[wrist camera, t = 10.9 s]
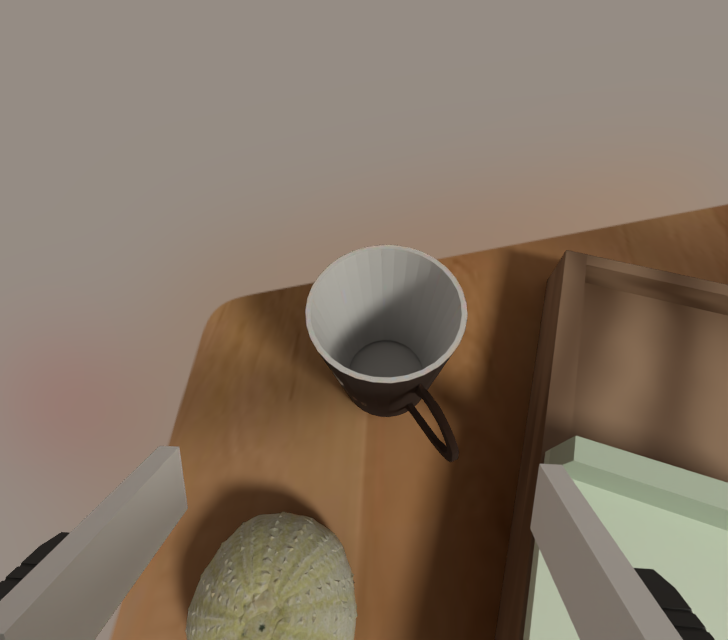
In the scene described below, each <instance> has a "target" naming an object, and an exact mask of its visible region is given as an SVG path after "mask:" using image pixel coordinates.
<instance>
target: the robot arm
mask: <svg viewBox="0 0 728 640" xmlns="http://www.w3.org/2000/svg"><path fill="white" fill-rule="evenodd" d="M187 509H188V507H187V499H186V492H185V485H184V478H183V471H182V464H181V456H180V449H179V447H175V446H159V447H158V448H157V449H156V450H155V451H154V452H153V453H152V454H151V455H150V456H149V457H148V458H147V459H145V460H144V462H142V463H141V464H140V465H139V466H138V467H137V468H136V469H135V470H134V471H133V472H132V473H131V474H130V475H129V476H128V477H127V478H126V479H125V480H124V481H123V482H122V483H121V484H120V485H119V486H118V487H117V488H116V489H115V490H114V491H113V492H112V493H111V494H110V495H109V496H107V497H106V498H105V499H104V500H103V501H102V502H101V503H100V504H99V505H98V506H97V507H96V508H95V509H94V510H93V511H92V512H91V513H90V514H89V515H88V516H87V517H86V518H85V519H84V520H83V521H82V522H81V523H80V524H79V525H78V526H77V527H76V528H75V529H74V530H73V531H72V532H71V533H65V532H61V533H60V534H58V535H56V536H55V537H53V538H52V539H50V540H49V541H47V542H46V543H44V544H42V545H41V546H39V547H38V548H37V549H36V550H35V551H34V552H33V553H32V554H31V555H30V556H29V557H27V558H26V559H25V560H24V561H23V562H22V563H21V566H20V567H17V568H15V570H13V571H12V572H11V573H10V574H9V575H8V576H7V577H6V579H5V581H1V582H0V640H95V639H96V637H97V636H98V634H99V633H100V632H101V630H102V629H103V627H104V626H105V624H106V623H107V622H108V620H109V619H110V617H111V616H112V614H113V613H114V612H115V610H116V609H117V608H118V606H119V605H120V603H121V602H122V600H123V599H124V598H125V596H126V595H127V593H128V592H129V591H130V589H131V588H132V586H133V585H134V584H135V582H136V581H137V579H138V578H139V576H140V575H141V574H142V572H143V571H144V569H145V568H146V567H147V565H148V564H149V562H150V561H151V559H152V558H153V557H154V555H155V554H156V552H157V551H158V550H159V548H160V547H161V545H162V544H163V543H164V541H165V540H166V538H167V537H168V535H169V534H170V533H171V531H172V530H173V528H174V527H175V526H176V524H177V523H178V521H179V520H180V519H181V517H182V516H183V514H184V513H185V511H186V510H187ZM530 529H531V531H532V533H533V536H534V538H535V540H536V542H537V545H538V547H539V549H540V551H541V554H542V556H543V558H544V560H545V563H546V565H547V567H548V569H549V572H550V574H551V576H552V578H553V581H554V583H555V585H556V587H557V589H558V592H559V594H560V596H561V598H562V601H563V603H564V605H565V607H566V610H567V612H568V614H569V616H570V619H571V621H572V623H573V625H574V628H575V630H576V632H577V634H578V637H579V639H580V640H715V639H714V638H713V636H712V635H711V634H710V632H707V631H706V627H705V626H704V625H703V623H702V622H701V621H700V619H699V618H698V617H697V616H696V614H693V612H692V609H691V608H690V606H689V605H688V604H687V603H686V601H685V600H684V599H683V597H682V596H681V595H680V593H679V592H678V591H677V590H676V588H675V587H674V586H672V585H671V584H670V583H669V582H668V581H667V580H665V579H664V578H663V577H662V576H661V575H659V574H658V573H657V572H656V571H655V570H654V569H644V568H633V567H632V565H631V564H630V562H629V561H628V559H627V558H626V557H625V555H624V554H623V552H622V551H621V549H620V548H619V546H618V545H617V544H616V542H615V541H614V539H613V538H612V536H611V535H610V533H609V532H608V531H607V529H606V528H605V526H604V525H603V523H602V522H601V520H600V519H599V518H598V516H597V515H596V513H595V512H594V510H593V509H592V507H591V506H590V505H589V503H588V502H587V500H586V499H585V497H584V496H583V494H582V493H581V492H580V490H579V489H578V487H577V486H576V484H575V483H574V481H573V480H572V479H571V477H570V476H569V474H568V473H567V471H566V470H565V468H564V467H563V465H558V464H539V470H538V477H537V484H536V491H535V498H534V505H533V512H532V519H531V526H530Z"/></svg>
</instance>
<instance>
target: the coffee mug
mask: <svg viewBox="0 0 728 640" xmlns="http://www.w3.org/2000/svg"><path fill="white" fill-rule="evenodd" d="M305 314H306V326H307V329H308V332H309V336H310V339H311V340H312V342H313V344H314V346H315V347H316V349H317V351H318V352H319V354H320V355H321V357H322V358H323V359H324V361H325V362H326V364H327V365H328V367H329V368H330V369H331V371H332V372H333V374H334V375H335V377H336V378H337V379H338V381H339V382H340V384H341V385H342V387H343V388H344V389H345V391H346V392H347V394H348V395H349V397H350V398H351V399H352V401H353V402H354V403H355V404H356V405H357V406H358V407H359V408H361V409H362V410H363V411H365V412H368V413H370V414H372V415H376V416H381V417H391V416H397V415H400V414H403V413H405V412H407V411H409V412H410V413H411V414H412V416H413V417H414V419H415V420H416V422H417V423H418V424H419V426H420V427H421V429H422V430H423V431H424V433H425V434H426V436H427V437H428V438H429V440H430V441H431V443H432V444H433V445H434V446H435V448H436V449H437V450H438V451H439V453H440V454H441V455H442V456H443V457H444V458H445V459H446V460H447V461H449V462H452V461H454V460H456V459H458V455H459V450H458V446H457V443H456V440H455V437H454V435H453V433H452V430H451V428H450V426H449V424H448V422H447V420H446V418H445V416H444V414H443V412H442V410H441V408H440V406H439V405H438V404H437V402H436V401H435V400H434V399H433V397H432V396H431V395H430V394H429V392H428V391H427V390H428V388H429V387H430V385H431V384H432V383H433V381H434V380H435V378H436V377H437V375H438V374H439V372H440V371H441V370H442V368H443V367H444V365H445V364H446V362H447V361H448V360H449V358H450V357H451V355H452V354H453V352H454V351H455V349H456V348H457V347H458V345H459V344H460V342H461V339H462V337H463V334H464V332H465V328H466V322H467V304H466V300H465V296H464V293H463V290H462V288H461V286H460V285H459V283H458V281H457V279H456V278H455V276H454V275H453V274H452V273H451V272H450V271H449V270H448V268H447V267H445V266H444V265H443V264H442V263H440V262H439V261H438V260H436V259H435V258H433V257H431V256H429V255H428V254H426V253H424V252H421V251H418V250H415V249H412V248H409V247H403V246H398V245H376V246H369V247H364V248H361V249H358V250H354V251H352V252H350V253H348V254H346V255H344V256H342V257H340V258H338V259H337V260H335V261H334V262H333V263H331V264H330V265H329V266H328V267H327V268H326V269H325V270H324V271H323V272H322V273H321V274H320V275H319V277H318V278H317V279H316V281H315V282H314V284H313V285H312V288H311V290H310V293H309V295H308V298H307V304H306V310H305ZM421 398H422V399H423V400H424V402H425V403H426V404H427V406H428V408H429V410H430V411H431V413H432V414H433V416H434V418H435V419H436V421H437V423H438V425H439V427H440V430H441V432H442V434H443V437H444V440H445V443H446V445H445V444H443V443H442V442H441V441H440V440H439V439H438V438H437V436H436V435H435V434H434V432H433V431H432V430H431V428H430V427H429V426H428V424H427V423H426V422H425V420H424V419H423V417H422V416H421V415H420V413H419V412H418V411H417V409H416V408H415V405H416V404H418V403H419V401H420V400H421ZM446 446H447V447H446Z"/></svg>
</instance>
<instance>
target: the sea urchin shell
mask: <svg viewBox="0 0 728 640" xmlns="http://www.w3.org/2000/svg"><path fill="white" fill-rule="evenodd" d="M353 575H354V574H353V573H352V572H351V568H350V566H349V563H348V561H347V558H346V554H345V551H344V548H343V546H342V544H341V542H340V541H339V539H338V538H337V537H336V535H335V534H334V533H333V532H331V531H330V529H328V528H326V527H324V525H323V524H322V525H321V524H320V523H318V522H317V521H315V520H314V519H313V518H310V517H307V516H300V515H295V514H292V513H286V512H284V511H283V512H281V513H277V514H264V515H258V516H256V517H254V518H252V519H250V520H248V521H247V522H243V523H242V525H241V526H240V527H239V528H237V530H236V531H235V532H234V533H233V534H232V535H231V536H230V537H229V538H228V539H227V540H226V541H225V542H223V543H222V544H221V546H220V548H219V549H218V551H217V553H216V554H215V556H214V558H213V559H212V561H211V562H210V563H209V565H208V566H207V567H206V568H205V569H204V572H203V573H202V574H201V576H200V578H201V579H200V581H199V583H198V586H197V588H196V591H195V594H194V597H193V599H192V601H191V604H190V606H189V608H188V617H187V627H186V630H185V631H186V634H187V640H354V633H355V625H356V617H357V612H356V608H357V605H356V603H355V595H354V585H353V583H354V581H353Z"/></svg>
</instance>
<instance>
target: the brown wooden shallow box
mask: <svg viewBox="0 0 728 640" xmlns="http://www.w3.org/2000/svg"><path fill="white" fill-rule="evenodd" d="M574 436H579V437H582V438H585V439H589V440H592V441H595V442H598V443H602V444H605V445H608V446H611V447H614V448H618V449H621V450H624V451H627V452H630V453H634V454H637V455H640V456H643V457H646V458H650V459H653V460H656V461H659V462H663V463H666V464H669V465H672V466H675V467H679V468H682V469H685V470H688V471H691V472H695V473H698V474H701V475H704V476H707V477H711V478H714V479H717V480H720V481H724V482H727V483H728V285H727V284H722V283H717V282H713V281H708V280H703V279H699V278H694V277H689V276H685V275H680V274H675V273H671V272H666V271H662V270H657V269H652V268H648V267H643V266H638V265H634V264H629V263H624V262H620V261H615V260H610V259H606V258H601V257H597V256H592V255H587V254H583V253H578V252H573V251H569V250H566V252H565V253H564V255H563V256H562V258H561V260H560V261H559V263H558V264H557V266H556V268H555V269H554V271H553V272H552V274H551V276H550V277H549V279H548V280H547V286H546V293H545V300H544V306H543V313H542V320H541V327H540V334H539V341H538V347H537V354H536V361H535V368H534V375H533V381H532V388H531V395H530V402H529V409H528V416H527V422H526V429H525V436H524V443H523V450H522V457H521V463H520V470H519V477H518V484H517V491H516V497H515V504H514V511H513V518H512V525H511V532H510V538H509V545H508V552H507V559H506V566H505V573H504V579H503V586H502V593H501V600H500V607H499V613H498V620H497V627H496V634H495V640H523V637H524V628H525V620H526V611H527V603H528V594H529V586H530V577H531V569H532V561H533V552H534V544H535V538H534V536H533V533H532V531H531V529H530V526H531V519H532V512H533V505H534V498H535V491H536V484H537V477H538V470H539V464H544V459H545V452H546V451H548V450H550V449H551V448H553V447H555V446H557V445H559V444H561V443H563V442H565V441H566V440H568V439H570V438H572V437H574Z"/></svg>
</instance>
